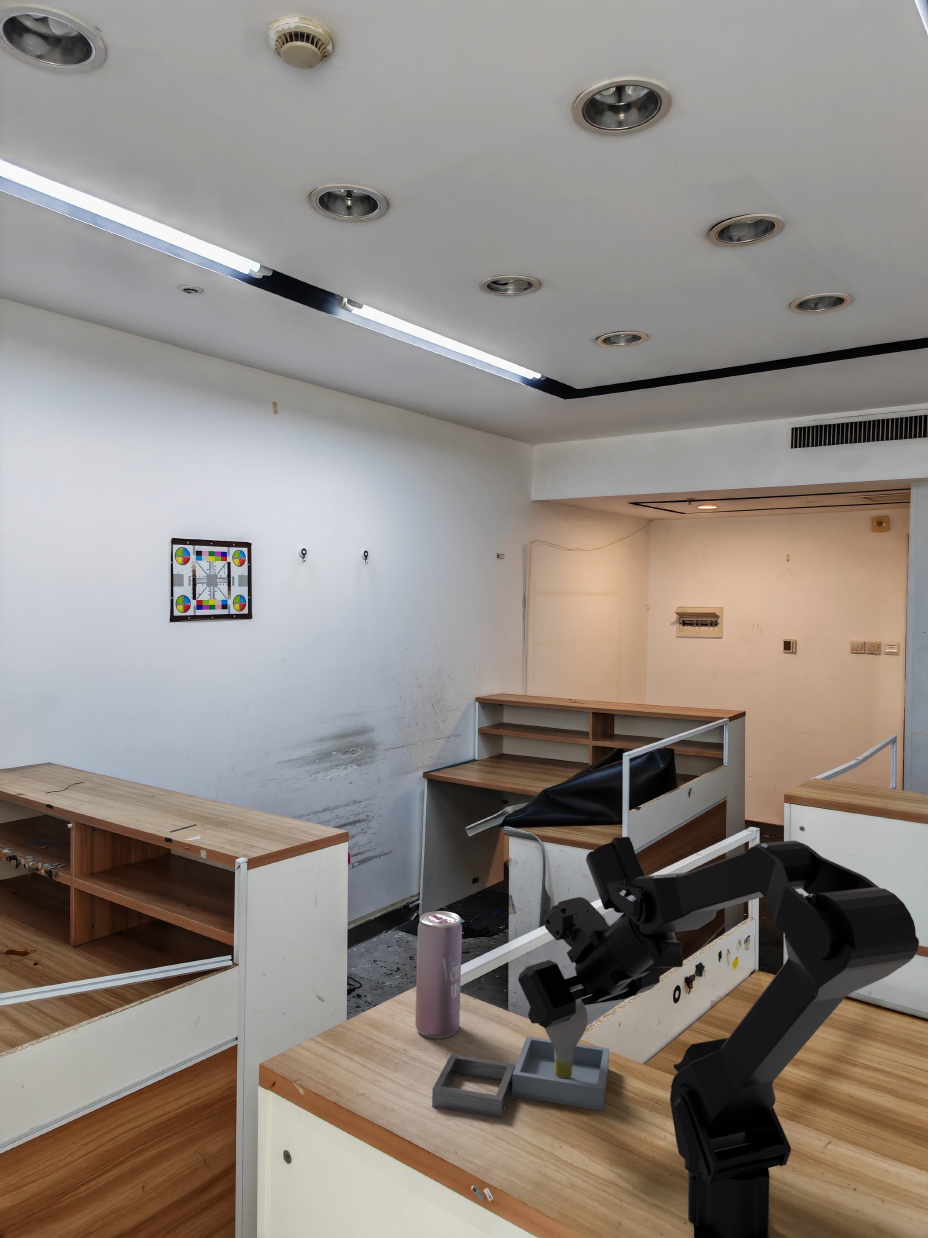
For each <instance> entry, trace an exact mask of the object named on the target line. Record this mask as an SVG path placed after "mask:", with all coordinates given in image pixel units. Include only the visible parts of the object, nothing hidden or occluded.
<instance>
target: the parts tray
mask: <svg viewBox="0 0 928 1238" xmlns="http://www.w3.org/2000/svg"><path fill="white" fill-rule="evenodd" d="M523 1042H524V1043H523V1045H522V1048H521V1050H520V1054H519V1056H518V1059H517V1062H516V1064H515V1069H514V1072H513V1084H512V1090H511V1095H512V1097H518V1098H522V1099H530V1100H536V1101H542V1102H548V1103H554V1104H557V1105H558V1104H560V1105H564V1106H565V1105H566V1106H571V1107H578V1108H583V1109H589V1110H595V1111H600V1112H603V1110H604V1104H605V1103H604V1102H605V1096H606V1091H605V1090H607V1084H606V1083H608V1076H609V1071H610V1070H609V1069H610V1048H609V1047H601V1046H597V1045H596V1046H594V1045H587V1044H582V1043H577V1045H576V1047H575V1048H574V1052H573V1061H572V1075H571V1076H570V1077H569V1078H566V1079H561V1078H559V1077H557V1076H556V1075H555V1073H554V1070H555V1069H554V1067H555V1066H554V1065H555V1059H554V1046H553V1044H552V1042H551V1040H550V1038H549V1039H547V1038H541V1037H534V1036H528V1035H527V1036H526V1037H525V1040H524V1041H523ZM608 1070H609V1071H608Z"/></svg>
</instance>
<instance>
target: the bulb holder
mask: <svg viewBox="0 0 928 1238" xmlns="http://www.w3.org/2000/svg"><path fill="white" fill-rule="evenodd" d="M515 1067H516V1064H515V1063H510V1062H504V1061H499V1060H498V1061H497V1060H490V1059H485V1058H479V1057H471V1056H465V1055H459V1054H454V1053H450V1056H449V1058H448V1059H447V1061H446V1062H445V1065H444V1066H443V1068H442V1070H441V1072H440V1074H439V1076H438V1078H437V1080H436V1081H435V1083H434V1085H433V1087H432V1094H431V1095H432V1097H431V1098H432V1099H431V1100H432V1101H431V1106H432V1107H433V1108H439V1109H445V1110H450V1111H456V1112H461V1113H465V1114H466V1113H467V1114H472V1115H478V1116H483V1117H491V1118H496V1119H502V1118H503V1115H504V1112H505V1109H506V1107H507V1104H508V1102H509V1099H510V1095H511V1094H512V1084H513V1072H514V1069H515ZM455 1076H459V1077H460V1076H461V1077H464V1078H465V1077H467V1078H472V1079H473V1078H474V1079H478V1080H484V1081H490V1082H496V1083H500V1085H499V1086H498V1090H497V1092H496V1094H491V1093H484V1092H480V1091H479V1092H478V1091H473V1090H468V1089H462V1088H461V1089H460V1088H456V1087H455V1088H454V1087H450V1086H451V1085H452V1083H453V1080H454V1078H455Z"/></svg>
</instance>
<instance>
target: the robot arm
mask: <svg viewBox="0 0 928 1238" xmlns="http://www.w3.org/2000/svg"><path fill="white" fill-rule="evenodd" d="M635 851H636V850H635V847H634V844H633V841H632V840H631V838H630V837H629V836H619V837H618V836H617V837H613V838H612V839H611V842H607V843H604V844H602V845H600V846H598V847H597V848H595V849H594V850H591V851H589V852H588V853H587V855H586V857H585V861H586V862H585V863H586V864H587V868H588V870H589V873H590V875H591V877H592V880H593V881H592V882H593V883H594V886H595V888H596V891H597V893H598V896H599V899H600V901H601V904H602V906H603V910H605V911H606V910H609V909H613V911H614V912H615V913H618V914H621V915H620V916H618V917H617V919H616V920H615V921H613V922H612V924H608V922H607V920H606V918H605V917H604V916H603V915H602V914H601V912H599V911H598V910H597V908H596V907H595V906H594V905H593V904H591V902H590V901H589V900H588V899H586V898H584V897H581V896H578V897H577V896H576V897H574V898H569V899H565V900H561V901H558V903H557V904H556V905H553V906H552V907H551V909H550V910H548V911H546V913H545V916H546V917H545V920H544V927H545V929H546V930H547V931H548V933H549V934H550V935H551V936H552V937H553V939H555V941H561V940H563V941H564V942H565V944H567V946H568V947H569V948H570V949H569V950H568V951H567V952H566V955H567V957H568V959H569V961H570V963H572V964H573V963H574V964H575V966H574V970H575V971H574V972H575V974H576V975H573V976H571V977H567V978H565V977H564V974H563V971H562V970H561V969H560V966H559V964H558V963H556V962H554V961H552V960H551V959H548V960H544V961H541V962H538V963H534V964H532V965H528V966H526V967H525V968H524V969H523V970H522V971H521V972H520V973H519V975H518V979H517V981H518V983H519V984H520V985H519V986H520V987H521V990H522V992H523V994H524V996H525V998H526V1000H527V1003H528V1004H529V1010H528V1012H527V1016H528V1019H529V1021H530V1023H531V1024H532V1025H533V1024H538V1026H540V1027H542V1028H543V1029H545V1028H548V1027H551V1026H554V1025H557V1024H559V1023H562V1022H565V1021H567V1020H570V1017H572V1016H573V1015H574V1014H575V1013H576V1000H579V999H580V1000H581V1001H582V1002H583V1003H584V1005H585V1006H588V1005H590V1006H591V1005H596V1004H601V1003H602V1004H604V1003H608V1002H614V1001H621V1000H626V999H630V998H631V997H634V996H637V995H638V994H642V993H645V992H647V991H650V990H652V989H653V988H654V987H656V986H657V985H658V984H659V983H660V982H661V971H660V970H659V969H660V968H663V969H665V968H669V969H670V968H682V967H683V965H684V954H683V952H682V949H683V948H682V947H683V943H682V942H681V941H680V940H679V941H678V940H677V937H676V934H675V933H677V932H683V931H686V932H687V931H692V930H693V931H694V930H699V929H700V928H702V927H703V926H706V925H707V924H709V923H710V922H712V921H713V920H714V919H715V917H716V914H717V912H719V911H720V910H723V909H725V908H729V907H732V906H736V905H739V904H743V903H746V902H750V901H753V900H757V899H760V898H761V899H762V898H765V899H766V902H767V906H768V910H769V912H770V913H769V914H770V917H771V920H772V923H773V924H774V925H775V926H776V927H777V928H778V929H779V930H780V931H781V933H783V934H784V942H785V948H786V953H787V959H786V961H785V963H783V965H782V966H781V967H780V969H779V970H778V972H777V973H776V974H775V975H774V977H773V978H772V980H771V981H770V982H769V983H768V984H767V986H766V987H765V989H764V990H763V992H762V993H761V994H760V995H759V997H758V998H757V1000H755V1002H754V1003H753V1005H752V1006H751V1007H750V1009H749V1010H748V1011H747V1012H746V1014H745V1015H744V1017H743V1018H742V1019H741V1021H740V1022H739V1023H738V1024H737V1026H736V1027H735V1028H734V1029H733V1031H732V1033H731V1034H730V1035H729V1037H724V1038H719V1039H712V1040H706V1041H701V1042H696V1043H692V1044H691V1045H690V1046H689V1047H688V1048H687V1049H686V1050H685V1053H684V1056H683V1057H682V1059H681V1061H680V1062H679V1063H675V1064H673V1069H674V1070H675V1071H676V1073H675V1074H674V1076H673V1077H672V1081H671V1086H670V1096H669V1102H670V1108H671V1115H672V1123H673V1127H674V1135H675V1141H676V1146H677V1147H676V1148H677V1152H678V1154H679V1156H681V1157H682V1158H683V1160H684V1169H685V1170H686V1171H687V1172H688V1178H687V1179H688V1181H687V1183H688V1185H687V1187H688V1188H687V1219H688V1222H689V1223H690V1224H693V1238H771V1237H770V1232H769V1231H770V1230H769V1228H770V1226H769V1225H770V1183H771V1180H770V1179H771V1177H770V1176H771V1175H770V1171H769V1170H770V1168H774V1167H778V1166H780V1167H783V1166H786V1165H787V1163H788V1160H789V1158H790V1155H791V1151H792V1147H791V1144H790V1142H789V1140H788V1137H787V1136H786V1134H785V1131H784V1128H783V1126H782V1124H781V1122H780V1120H779V1118H778V1115H777V1113H776V1111H775V1108H774V1106H775V1103H776V1101H777V1099H776V1094H775V1089H774V1085H773V1084H774V1081H775V1080H776V1079H777V1078H778V1076H779V1075H781V1073H782V1072H783V1071H784V1070H785V1068H786V1067H787V1066H788V1065H789V1064H790V1063H791V1061H792V1060H794V1057H795V1056H796V1055H797V1054H798V1053H799V1052H800V1051H801V1050H802V1048H803V1047H804V1046H805V1045H806V1044H807V1043H808V1041H809V1040H810V1039H811V1038H812V1037H813V1035H814V1034H815V1033H816V1032H817V1031H818V1029H820V1028H821V1026H822V1025H823V1024H824V1023H825V1022H826V1020H827V1019H828V1018H829V1017H830V1016H831V1015H832V1013H833V1012H834V1011H835V1010H836V1009H837V1007H838V1006H839V1005H840V1004H841V1003H842V1002H843V1001H844V1000H845V999H846V997H847V996H849V995H850V994H852V993H855V992H856V991H858V990H861V989H864V988H865V987H868V986H869V985H870V986H871V984H874V983H876V982H878V981H881V980H883V979H885V978H887V977H889V976H890V975H891V974H893V973H894V972H896V971H898V970H899V969H901V968H902V967H904V966H905V965H907V964H908V963H909V962H911V961H912V960H913V959H914V958H915V956H916V954H917V952H918V951H919V945H920V940H919V938H918V937H917V933H916V932H917V931H916V926H915V921H914V918H913V917H912V914H911V913H910V911H909V909H908V908H907V906H906V904H905V903H904V902H903V900H901V899H900V898H899V897H898V896H897V894H895V893H893V892H891V891H890V890H888V889H886V888H881V887H880V886H879V885H877V884H875V883H874V882H873V881H872V880H871V879H869V878H868V877H866V876H864V875H863V874H861V873H858V872H856V871H854V870H851V868H847V867H846V866H843V865H841V864H838V863H836V862H834V861H831V860H829V859H827V858H825V857H823V856H822V855H820V854H819V853H818V852H817V851H816V850H814V849H813V848H811V846H809V845H807V844H805V843H803V842H800V841H798V840H784V841H773V842H772V841H771V842H759V843H756V844H754V845H753V846H750V848H748V849H747V850H745V851H742V852H739V853H736V854H734V855H731V856H729V857H726V858H723V859H720V860H718V861H715V862H712V863H709V864H707V865H705V866H701V867H699V868H696V869H693V870H690V871H688V872H687V871H686V872H676V873H666V874H665V873H664V874H654V875H646V874H645V873H644V870H643V868H642V866H641V863H640V861H639V859H638V857H637V854H636V852H635ZM801 889H802V890H803V891H804V892H805V893H806V894H807V895H805V896H803V895H802V894H801V893H800V892H799V891H797V890H801Z"/></svg>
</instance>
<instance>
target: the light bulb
mask: <svg viewBox="0 0 928 1238" xmlns="http://www.w3.org/2000/svg"><path fill="white" fill-rule="evenodd" d="M588 1015H589V1014H588V1011H587V1008H586V1005H584V1003H583V1002H582V1001H581V1000H580V999H579V1000H576V1013H575V1014H574V1015H573V1016H572V1017H570V1020H567V1021H565V1022H562V1023H559V1024H557V1025H554V1026H551V1027H548V1028H544V1030H545V1033H546V1034H547V1036H548V1037H549V1040H551V1042H552V1044H553V1046H554V1059H555V1065H554V1066H555V1067H554V1069H555V1070H554V1073H555V1075H556V1076H557V1077H559V1078H561V1079H566V1078H569V1077H570V1076H571V1075H572V1061H573V1052H574V1048H575V1047H576V1045H577V1044H579V1042H580V1041H581V1039H582V1037H583V1035H584V1033H585V1032H586V1030H587V1026H588V1018H589V1017H588Z"/></svg>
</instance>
